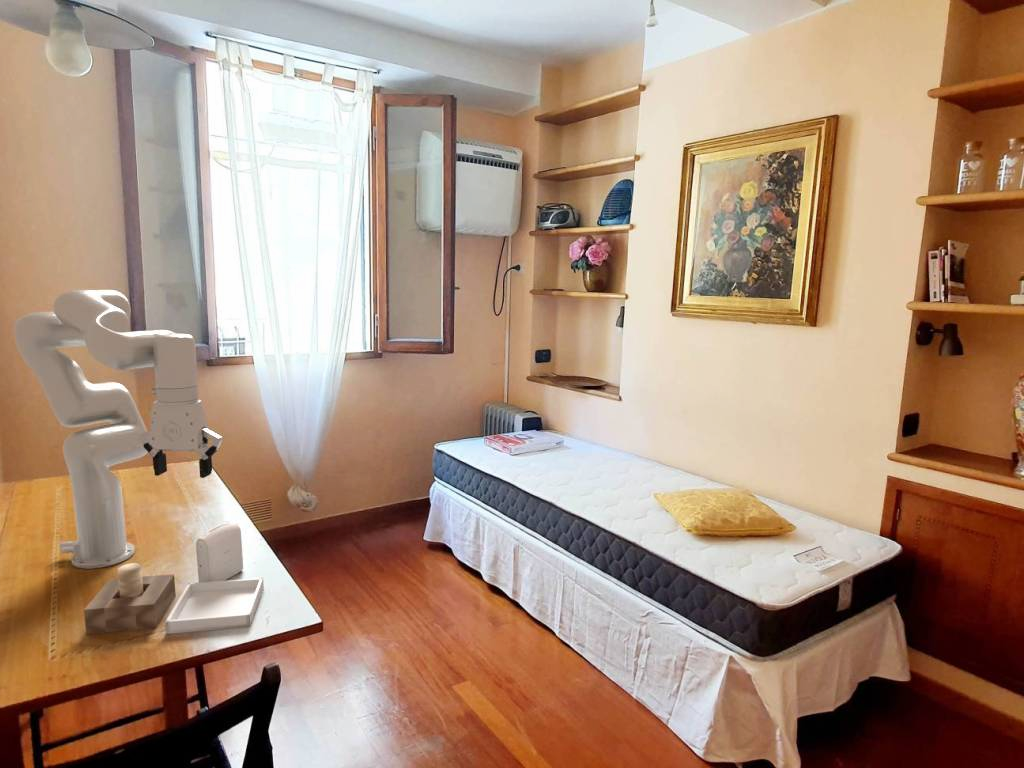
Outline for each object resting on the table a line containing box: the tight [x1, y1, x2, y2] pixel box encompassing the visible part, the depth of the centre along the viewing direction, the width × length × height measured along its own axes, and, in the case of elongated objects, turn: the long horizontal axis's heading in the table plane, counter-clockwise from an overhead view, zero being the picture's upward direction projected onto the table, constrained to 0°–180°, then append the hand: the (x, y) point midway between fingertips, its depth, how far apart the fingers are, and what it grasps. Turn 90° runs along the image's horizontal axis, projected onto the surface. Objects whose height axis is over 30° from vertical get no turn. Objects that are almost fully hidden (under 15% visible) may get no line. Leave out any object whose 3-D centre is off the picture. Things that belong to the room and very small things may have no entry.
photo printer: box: [195, 522, 244, 583], centre depth 137 cm, size 10×4×12 cm, turn 158°
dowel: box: [116, 562, 144, 598], centre depth 122 cm, size 4×4×10 cm
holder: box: [83, 574, 177, 635], centre depth 123 cm, size 12×12×5 cm
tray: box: [164, 577, 265, 635], centre depth 125 cm, size 15×15×2 cm
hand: (183, 474), depth 128 cm, fingers open, 9 cm apart
